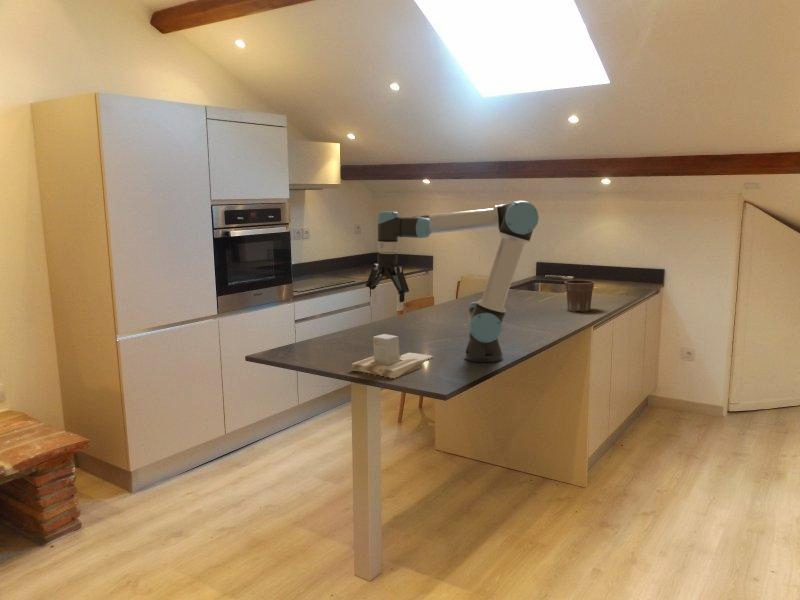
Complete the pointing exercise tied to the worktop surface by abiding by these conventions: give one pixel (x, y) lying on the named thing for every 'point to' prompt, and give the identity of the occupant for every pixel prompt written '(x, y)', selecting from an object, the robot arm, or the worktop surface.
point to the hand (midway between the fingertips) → (386, 308)
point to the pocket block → (388, 367)
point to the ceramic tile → (417, 356)
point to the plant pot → (579, 295)
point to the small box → (386, 349)
